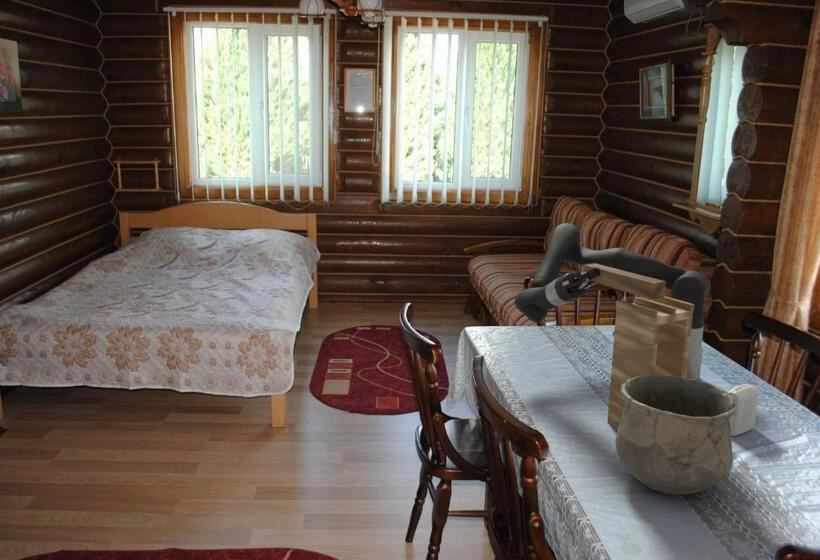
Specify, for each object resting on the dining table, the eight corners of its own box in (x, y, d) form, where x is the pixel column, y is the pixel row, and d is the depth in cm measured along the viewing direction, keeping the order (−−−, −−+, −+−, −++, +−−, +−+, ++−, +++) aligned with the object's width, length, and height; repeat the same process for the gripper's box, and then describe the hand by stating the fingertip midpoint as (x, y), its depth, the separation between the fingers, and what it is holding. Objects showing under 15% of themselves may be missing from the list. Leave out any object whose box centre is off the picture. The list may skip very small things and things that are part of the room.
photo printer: (741, 422, 183) (746, 379, 180) (756, 428, 179) (762, 384, 176) (718, 432, 177) (723, 387, 174) (733, 438, 174) (739, 393, 171)
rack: (644, 411, 189) (655, 293, 181) (681, 428, 179) (694, 304, 171) (606, 422, 182) (616, 300, 174) (642, 440, 172) (654, 312, 164)
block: (593, 277, 188) (594, 263, 187) (664, 297, 168) (665, 281, 167) (582, 279, 186) (583, 264, 185) (652, 299, 166) (654, 283, 165)
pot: (753, 504, 144) (766, 409, 139) (657, 522, 138) (667, 423, 133) (676, 450, 167) (685, 367, 162) (591, 463, 161) (597, 377, 156)
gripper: (587, 299, 198) (628, 280, 184) (549, 305, 192) (589, 286, 177) (579, 274, 200) (620, 254, 186) (541, 279, 193) (580, 259, 179)
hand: (604, 270), depth 181 cm, fingers closed on block, 4 cm apart
